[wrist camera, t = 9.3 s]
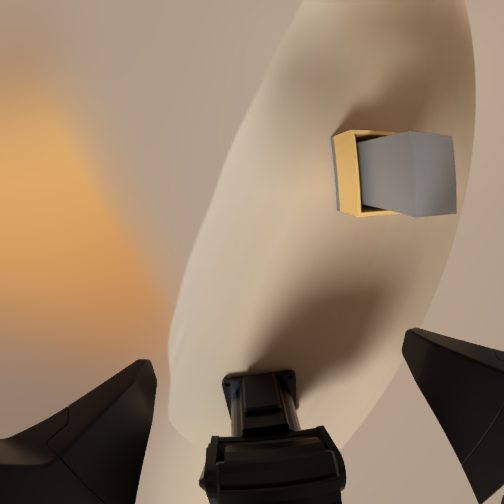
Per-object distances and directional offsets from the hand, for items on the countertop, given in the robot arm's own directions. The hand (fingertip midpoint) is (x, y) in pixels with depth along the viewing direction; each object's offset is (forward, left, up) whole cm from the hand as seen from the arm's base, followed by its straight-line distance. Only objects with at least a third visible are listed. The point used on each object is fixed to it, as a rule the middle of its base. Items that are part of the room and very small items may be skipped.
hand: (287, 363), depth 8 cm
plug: (+6, -9, -11) cm, 15 cm away
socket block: (+6, -9, -12) cm, 16 cm away
